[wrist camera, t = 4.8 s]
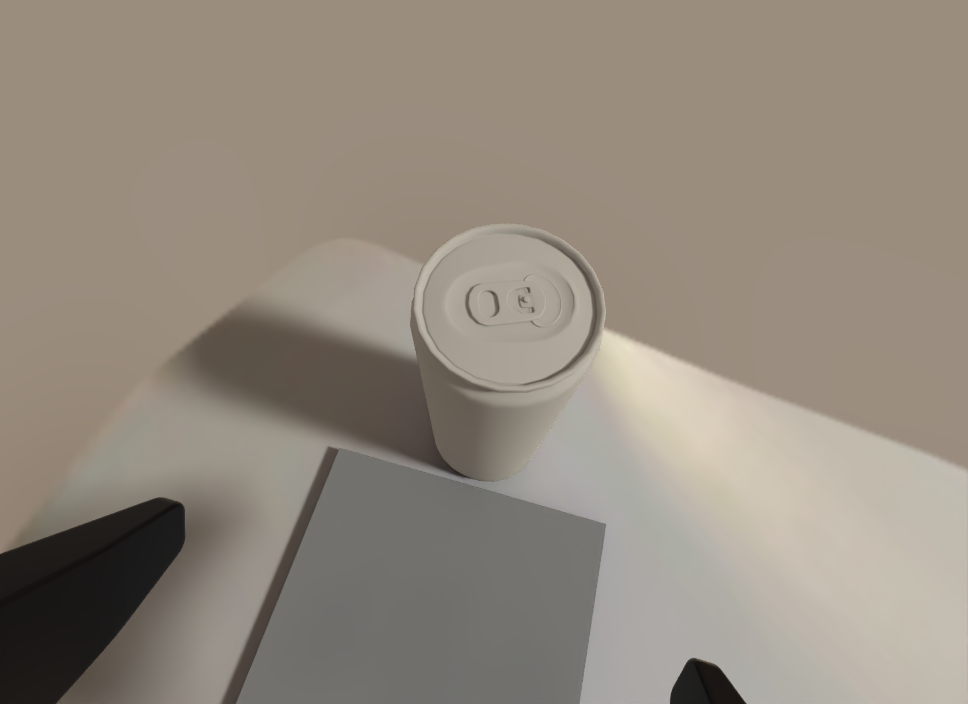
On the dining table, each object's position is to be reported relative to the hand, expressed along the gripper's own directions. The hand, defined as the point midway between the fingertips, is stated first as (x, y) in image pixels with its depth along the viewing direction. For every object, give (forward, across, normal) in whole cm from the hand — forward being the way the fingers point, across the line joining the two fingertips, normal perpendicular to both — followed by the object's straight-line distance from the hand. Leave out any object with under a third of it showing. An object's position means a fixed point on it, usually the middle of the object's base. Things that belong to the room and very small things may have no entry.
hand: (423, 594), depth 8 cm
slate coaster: (+7, 0, +10) cm, 13 cm away
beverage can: (+13, 0, +4) cm, 14 cm away
